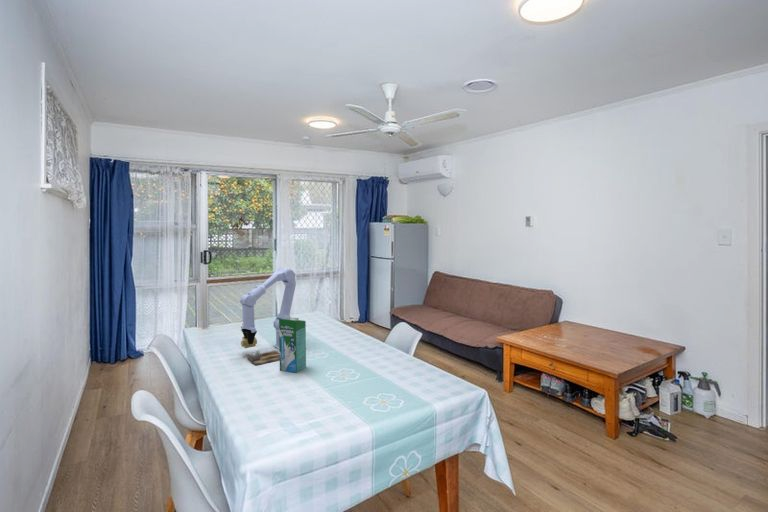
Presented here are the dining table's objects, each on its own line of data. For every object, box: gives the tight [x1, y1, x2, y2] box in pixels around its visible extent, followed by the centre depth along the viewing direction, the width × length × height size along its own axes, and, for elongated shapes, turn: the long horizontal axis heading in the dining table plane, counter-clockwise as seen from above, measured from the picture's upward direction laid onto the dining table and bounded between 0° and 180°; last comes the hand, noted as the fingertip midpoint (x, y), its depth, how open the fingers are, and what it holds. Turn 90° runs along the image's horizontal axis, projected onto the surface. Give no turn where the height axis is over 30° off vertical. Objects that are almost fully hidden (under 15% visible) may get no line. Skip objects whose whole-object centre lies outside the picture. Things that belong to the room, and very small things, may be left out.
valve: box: [240, 335, 258, 349], centre depth 208 cm, size 8×4×6 cm, turn 128°
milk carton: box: [278, 316, 307, 374], centre depth 189 cm, size 9×9×25 cm
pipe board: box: [246, 350, 280, 367], centre depth 203 cm, size 16×12×5 cm
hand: (249, 342), depth 208 cm, fingers closed on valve, 4 cm apart
